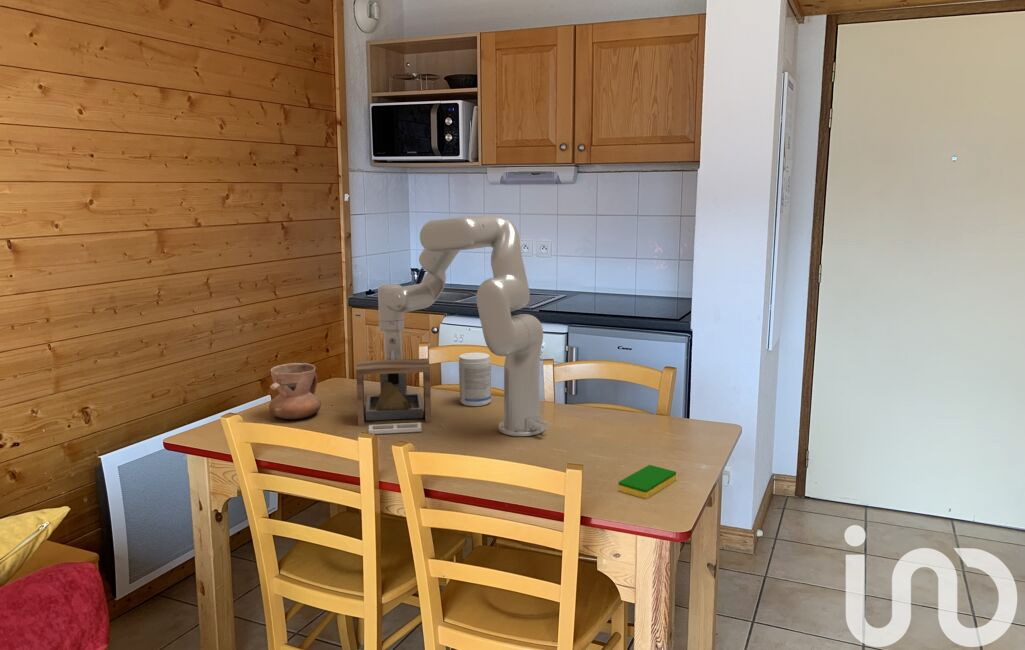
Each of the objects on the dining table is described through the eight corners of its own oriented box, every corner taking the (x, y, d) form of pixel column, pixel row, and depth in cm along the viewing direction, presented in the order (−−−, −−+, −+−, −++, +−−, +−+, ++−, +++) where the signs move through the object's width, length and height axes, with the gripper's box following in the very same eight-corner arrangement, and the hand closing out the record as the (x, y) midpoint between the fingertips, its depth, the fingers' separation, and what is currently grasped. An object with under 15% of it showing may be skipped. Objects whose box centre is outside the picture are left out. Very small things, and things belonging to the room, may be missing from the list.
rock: (423, 406, 225) (397, 396, 230) (413, 388, 219) (387, 378, 224) (401, 435, 220) (375, 424, 225) (390, 417, 214) (364, 407, 219)
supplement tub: (497, 402, 237) (497, 355, 234) (474, 409, 230) (474, 360, 228) (476, 396, 244) (475, 350, 241) (453, 402, 237) (452, 355, 234)
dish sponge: (676, 481, 177) (677, 471, 176) (645, 500, 166) (646, 490, 166) (649, 474, 181) (649, 464, 181) (617, 492, 171) (617, 481, 170)
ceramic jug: (294, 427, 214) (291, 377, 211) (255, 420, 220) (252, 371, 217) (337, 410, 229) (335, 363, 227) (299, 403, 236) (297, 358, 233)
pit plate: (421, 432, 209) (421, 428, 209) (368, 435, 207) (368, 430, 207) (420, 426, 214) (420, 422, 214) (369, 429, 212) (369, 425, 212)
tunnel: (431, 422, 218) (429, 366, 215) (358, 425, 215) (356, 369, 212) (429, 411, 228) (428, 358, 225) (359, 415, 225) (357, 361, 222)
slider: (423, 417, 221) (422, 386, 219) (366, 420, 218) (364, 389, 217) (419, 394, 245) (418, 365, 243) (367, 396, 242) (366, 367, 241)
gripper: (404, 329, 229) (406, 389, 232) (403, 320, 243) (405, 377, 247) (379, 330, 227) (381, 390, 231) (379, 321, 242) (381, 378, 245)
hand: (393, 383), depth 239 cm, fingers closed
